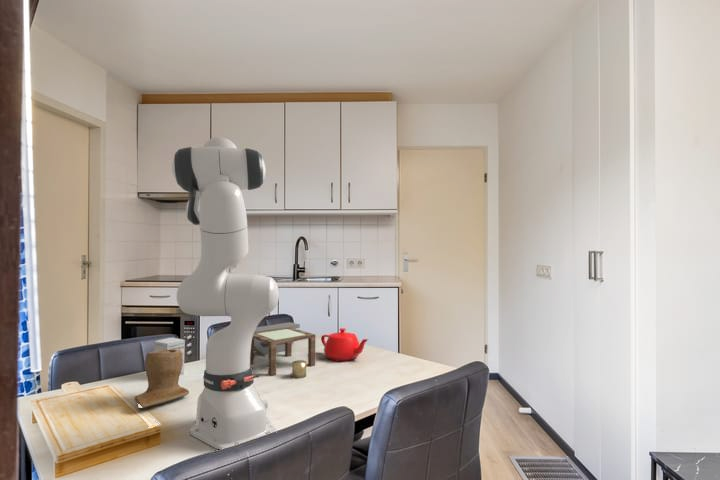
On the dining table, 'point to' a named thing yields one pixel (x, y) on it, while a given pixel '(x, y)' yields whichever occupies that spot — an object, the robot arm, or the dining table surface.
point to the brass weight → (299, 369)
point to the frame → (287, 347)
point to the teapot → (342, 346)
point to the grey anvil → (264, 348)
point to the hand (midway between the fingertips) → (226, 272)
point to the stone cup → (162, 378)
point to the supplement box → (171, 346)
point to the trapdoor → (280, 334)
